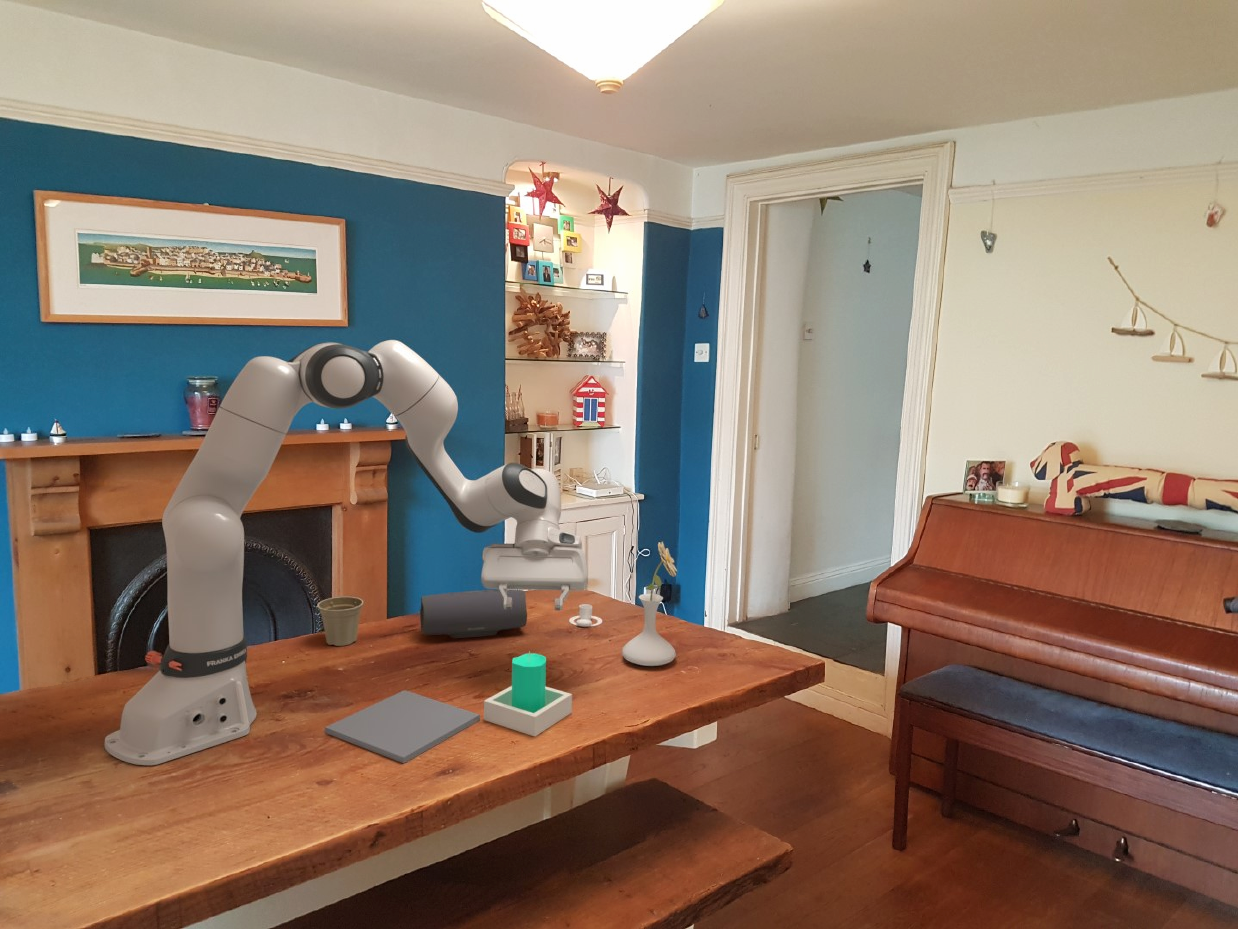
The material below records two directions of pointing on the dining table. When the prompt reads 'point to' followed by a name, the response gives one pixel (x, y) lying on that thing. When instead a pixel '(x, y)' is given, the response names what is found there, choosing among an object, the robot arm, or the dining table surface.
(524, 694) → the candle
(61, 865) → the dining table surface
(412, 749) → the slate tile
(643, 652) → the flower in vase
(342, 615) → the flower pot
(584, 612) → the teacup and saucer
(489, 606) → the bluetooth speaker
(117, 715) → the dining table surface
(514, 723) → the square frame
